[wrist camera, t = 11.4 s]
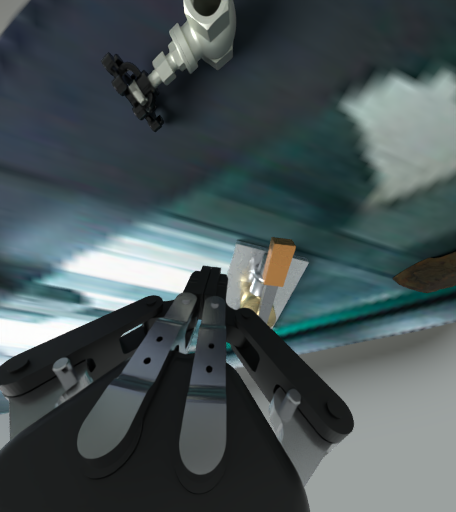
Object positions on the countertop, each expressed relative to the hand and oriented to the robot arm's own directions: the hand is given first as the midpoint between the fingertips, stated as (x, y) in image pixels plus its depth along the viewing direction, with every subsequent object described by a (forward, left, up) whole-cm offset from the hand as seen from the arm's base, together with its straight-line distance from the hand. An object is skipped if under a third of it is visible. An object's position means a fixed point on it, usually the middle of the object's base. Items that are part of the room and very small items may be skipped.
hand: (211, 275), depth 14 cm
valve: (-8, +16, -15) cm, 23 cm away
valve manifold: (+8, -11, -14) cm, 20 cm away
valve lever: (+7, -5, -6) cm, 11 cm away
